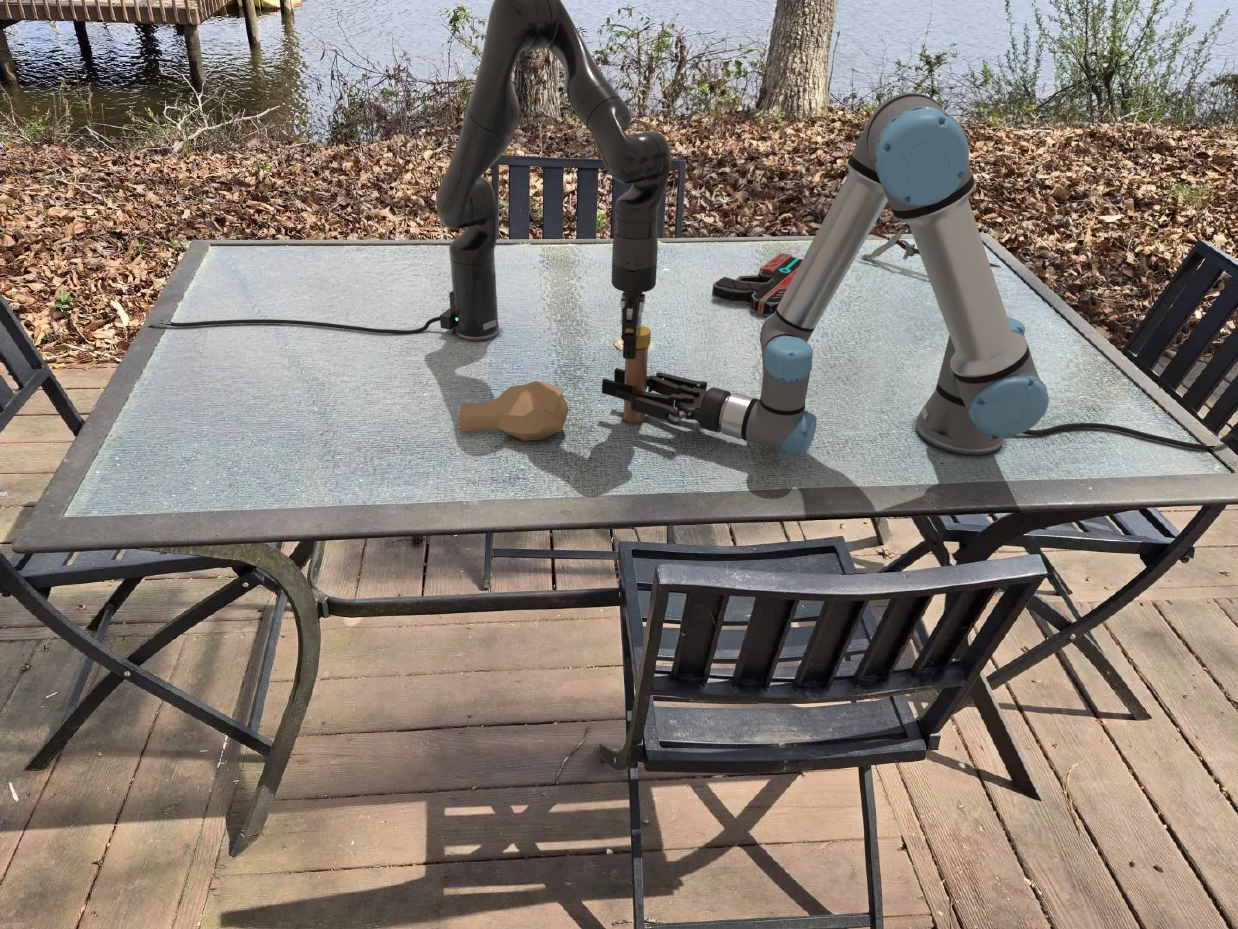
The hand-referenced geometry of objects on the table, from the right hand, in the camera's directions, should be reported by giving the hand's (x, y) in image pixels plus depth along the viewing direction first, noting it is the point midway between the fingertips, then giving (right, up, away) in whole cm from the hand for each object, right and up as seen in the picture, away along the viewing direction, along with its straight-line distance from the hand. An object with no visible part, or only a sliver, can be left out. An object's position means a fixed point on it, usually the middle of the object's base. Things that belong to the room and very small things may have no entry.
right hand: (609, 380), depth 162 cm
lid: (+5, +8, -8) cm, 12 cm away
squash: (-17, -10, -4) cm, 20 cm away
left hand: (+4, +5, -7) cm, 10 cm away
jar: (+5, -7, +1) cm, 8 cm away
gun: (+39, +27, +54) cm, 72 cm away
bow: (+80, +34, +65) cm, 109 cm away
